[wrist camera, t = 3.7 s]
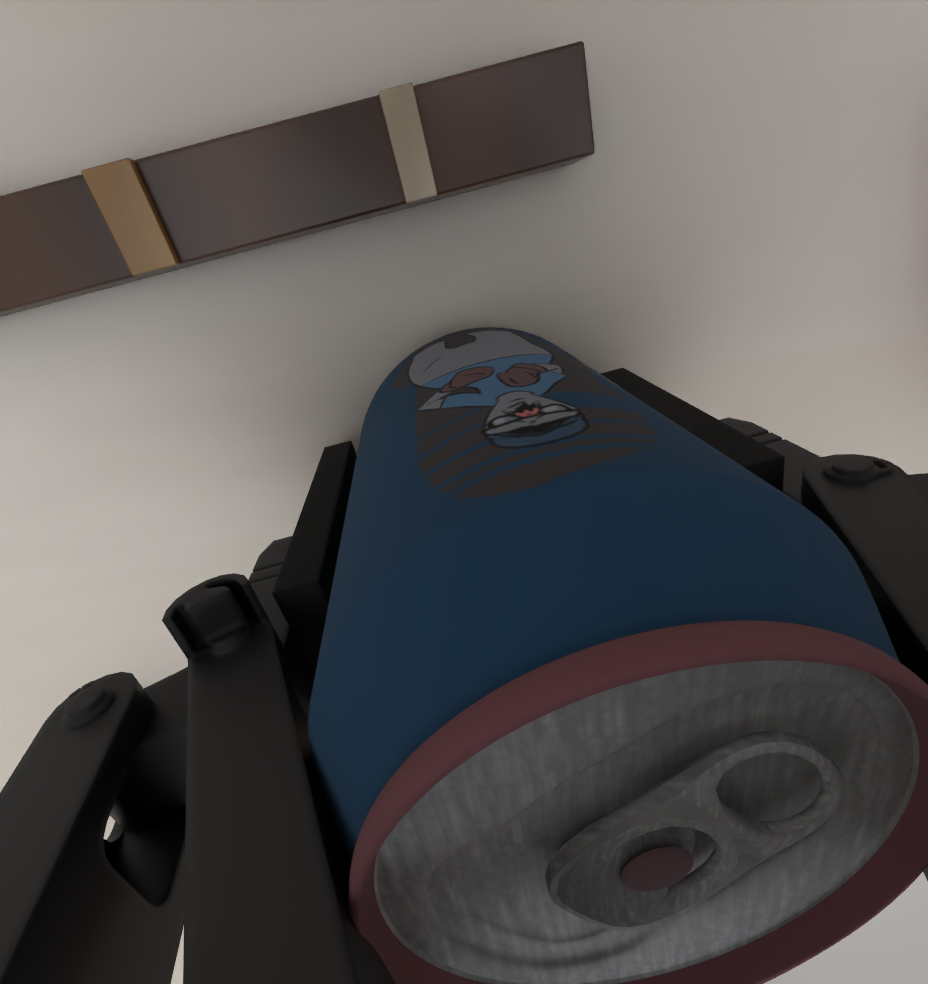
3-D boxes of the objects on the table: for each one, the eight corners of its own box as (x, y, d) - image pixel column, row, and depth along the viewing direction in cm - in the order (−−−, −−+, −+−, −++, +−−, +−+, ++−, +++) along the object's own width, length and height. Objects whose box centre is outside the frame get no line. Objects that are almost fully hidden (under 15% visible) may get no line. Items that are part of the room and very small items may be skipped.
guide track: (562, 63, 12) (588, 34, 10) (627, 618, 19) (647, 651, 18) (-279, 287, 12) (-383, 294, 10) (118, 755, 19) (93, 800, 18)
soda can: (476, 574, 18) (599, 1094, 7) (313, 445, 15) (93, 967, 4) (634, 435, 16) (1123, 829, 5) (483, 261, 13) (849, 337, 2)
